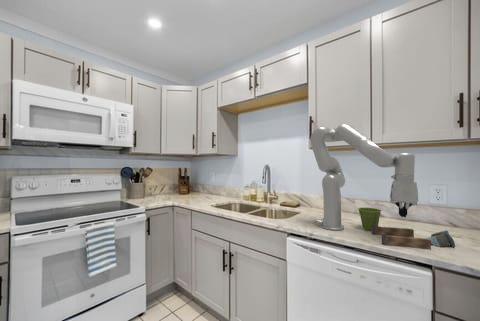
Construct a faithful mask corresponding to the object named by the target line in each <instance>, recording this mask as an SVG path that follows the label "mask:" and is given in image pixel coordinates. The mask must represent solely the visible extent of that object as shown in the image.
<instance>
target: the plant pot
mask: <svg viewBox="0 0 480 321" xmlns="http://www.w3.org/2000/svg"><path fill="white" fill-rule="evenodd" d="M357 210H358V213H359V216H360V221H361V225H362V229H364V230H366V231H370V232H372V224H374V225H375V226H379V222H380V217H381V214H382V212H383V210H382V209H380V208H376V207H375V208H374V207H365V206H364V207H358V208H357Z"/></svg>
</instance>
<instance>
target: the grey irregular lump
mask: <svg viewBox="0 0 480 321" xmlns="http://www.w3.org/2000/svg"><path fill="white" fill-rule="evenodd" d="M425 239H430V240H431V245H432V246H434V247H438V248H443V247H446V246H448V247H451V248H455V247H456V244H455V240H454V239H453V237H452V236H451V234H450V233H449V230H442V231H439V232H435V233H431V235H430V236H429V237H427V238H425Z"/></svg>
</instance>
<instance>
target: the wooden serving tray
mask: <svg viewBox="0 0 480 321" xmlns="http://www.w3.org/2000/svg"><path fill="white" fill-rule="evenodd" d="M414 232H415V231H414V229H413V228H406V227H404V228H403V227H395V226H394V227H393V226H392V227H391V226H379V225H378V226H375V225H374V224H372V231H371V234H372V235H377V236H381V245H383V246H391V247H392V246H393V247H400V248H410V249H411V248H413V249H422V250H424V249H425V250H432V244H431V240H430V239H426V238H421V237H415V233H414Z"/></svg>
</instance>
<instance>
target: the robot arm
mask: <svg viewBox="0 0 480 321" xmlns="http://www.w3.org/2000/svg"><path fill="white" fill-rule="evenodd" d="M309 142H310V145H311V149H312V152H313V154H314V158H315V162H316V164H317V167H318V169H319V171H321V172H324V173H325V174H326V175H324V176H323V177H322V180H321V186H322V187H321V188H322V193H323V195H322V196H323V197H322V198H323V199H322V201H323V217H322V218H321V219H319V218H316V219H315V223H317V224H320V227H321V228H323V229H324V230H325V229H326V230H329V231H343V230H344V229H345V225H343V224H342V194H341V188H343V187H344V185H346V178H345V174H344V173H343V170H342V168H341V167H342V166H341V164H340V163H339V161H338V159H336V157H334V156H331V154H330V150H329V148H328V146H327V144H326V143H332V142H333V143H335V142H345V143H347V145H349V146H350V147H352V148H353V149H354V150H356V151H357V152H359V153H360V154H361V155H362V156H363V157H365V158H366V159H368V160H369V161H371V162H372V163H373V164H375V165H376V166H378V167H380V168H394V174H393V175H391V176H390V178H391V179H393V180H392V182H391V186H390V194H389V195H390V196H389V199H390V201H389V203H390V204H392V205H396V206H397V207H398V215H399V216H400V217H402V218H407V216H408V209H409V208H411V207H413V206H418V202H419V191H418V185H417V182H416V181H415V166H416V165H415V164H416V162H415V161H416V160H415V158H416V157H415V154H414V153H412V152H399V153H391V152H388V151H386V150H384V149H383V148H381V147H380V146H378V145H377V144H375V142H373V141H372V140H371V139H370V138H369V137H368V136H366V135H365V134H364V133H362V132H360V131H359V130H358V129H356V128H355V127H353V126H352V125H350V124H348V123H342V124H339V125H338V126H337V127H334V128H329V127H326V126H318V127H316V128H315V129H314V130H313V131H312V133H311V135H310V138H309Z"/></svg>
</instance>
